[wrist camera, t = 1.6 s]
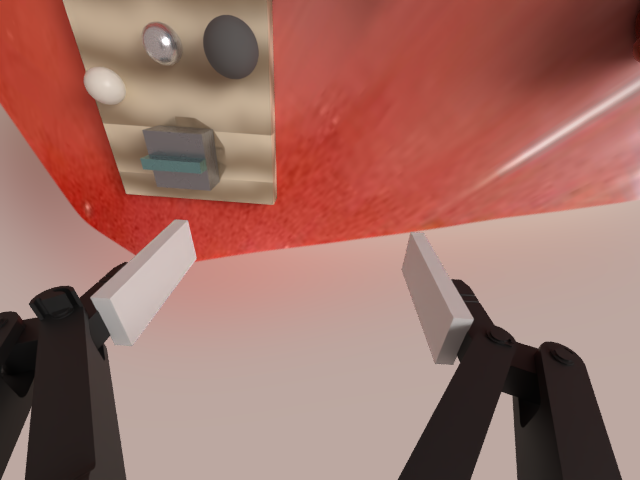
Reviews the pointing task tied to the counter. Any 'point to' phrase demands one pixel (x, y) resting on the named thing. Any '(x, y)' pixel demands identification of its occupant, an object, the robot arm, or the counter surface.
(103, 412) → the robot arm
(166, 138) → the cover
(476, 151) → the counter surface
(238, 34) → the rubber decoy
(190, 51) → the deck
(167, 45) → the steel ball
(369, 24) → the counter surface
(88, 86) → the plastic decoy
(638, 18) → the mug
